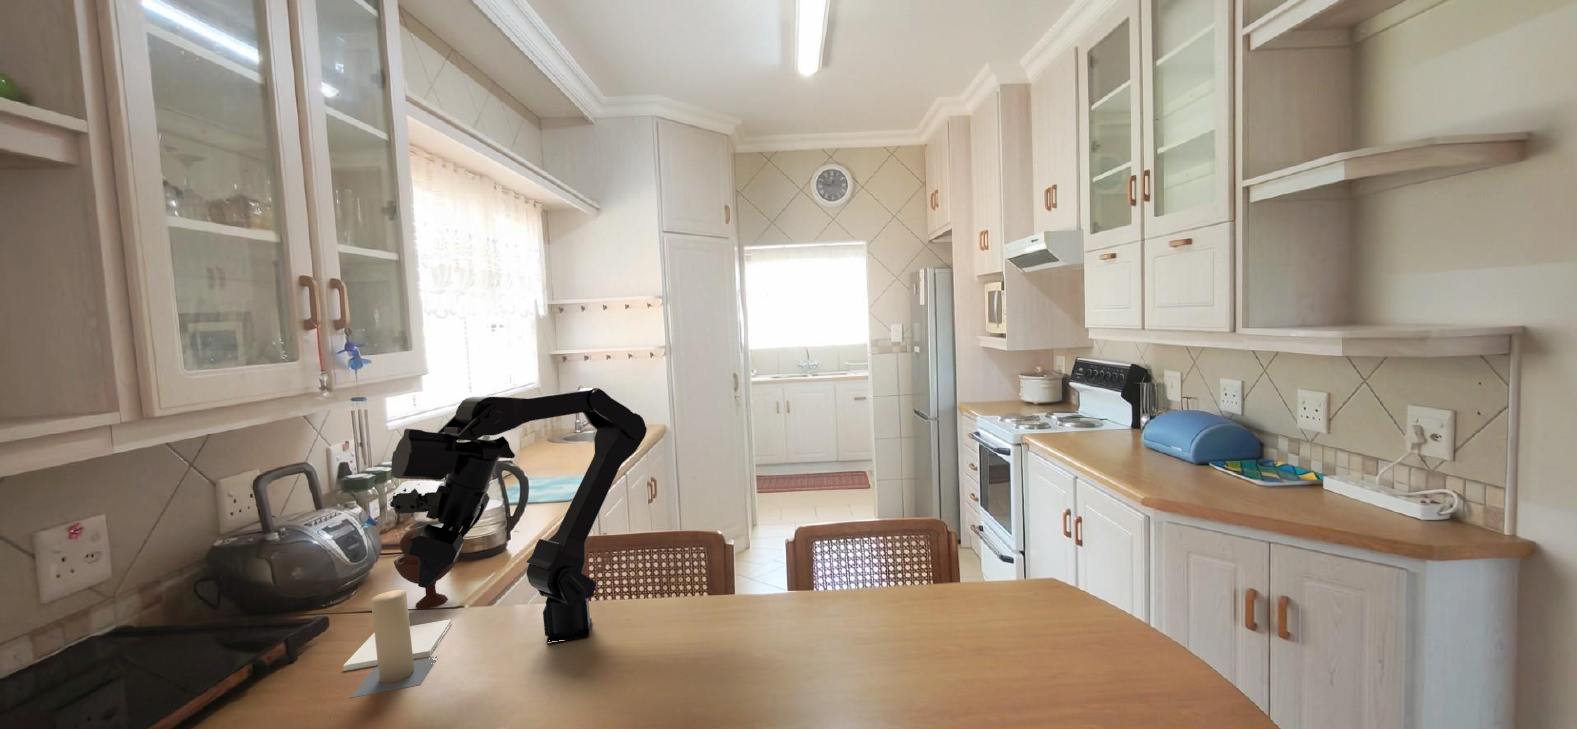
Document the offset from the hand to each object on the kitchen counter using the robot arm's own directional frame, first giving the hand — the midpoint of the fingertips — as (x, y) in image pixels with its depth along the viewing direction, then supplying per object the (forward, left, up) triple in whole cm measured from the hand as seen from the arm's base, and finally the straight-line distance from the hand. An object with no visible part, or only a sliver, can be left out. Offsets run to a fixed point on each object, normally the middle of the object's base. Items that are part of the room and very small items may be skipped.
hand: (433, 569), depth 96 cm
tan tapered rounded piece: (+6, +1, -15) cm, 16 cm away
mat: (+6, +1, -15) cm, 16 cm away
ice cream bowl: (+10, -29, -15) cm, 34 cm away
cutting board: (+9, -10, -15) cm, 20 cm away
